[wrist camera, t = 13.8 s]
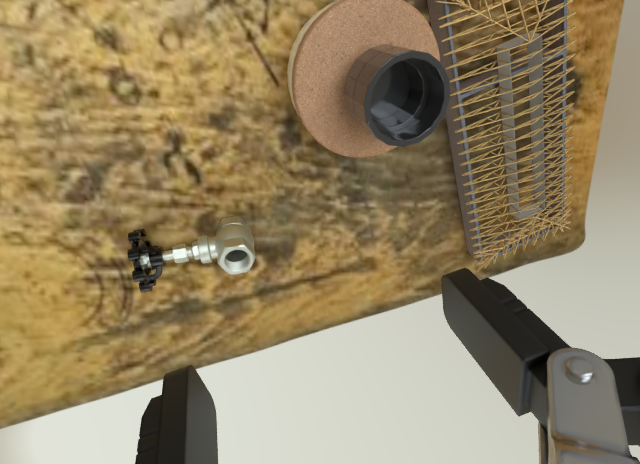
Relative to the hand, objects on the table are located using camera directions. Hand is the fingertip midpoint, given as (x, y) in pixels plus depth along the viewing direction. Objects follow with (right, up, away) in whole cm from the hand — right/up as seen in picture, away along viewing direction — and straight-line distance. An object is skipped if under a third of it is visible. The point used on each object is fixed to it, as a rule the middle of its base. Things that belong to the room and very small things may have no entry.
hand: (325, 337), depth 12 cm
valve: (-14, +3, +33) cm, 36 cm away
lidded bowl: (+2, +20, +28) cm, 34 cm away
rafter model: (+21, +16, +36) cm, 44 cm away
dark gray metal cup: (+4, +14, +18) cm, 24 cm away
